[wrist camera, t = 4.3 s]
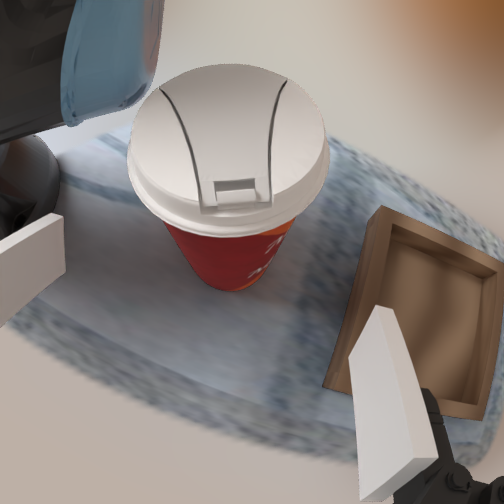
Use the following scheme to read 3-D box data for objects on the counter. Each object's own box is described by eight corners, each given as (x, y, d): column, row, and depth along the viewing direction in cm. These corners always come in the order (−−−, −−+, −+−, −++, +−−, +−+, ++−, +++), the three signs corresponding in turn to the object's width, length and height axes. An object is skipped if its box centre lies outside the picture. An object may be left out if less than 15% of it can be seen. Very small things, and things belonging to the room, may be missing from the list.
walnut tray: (321, 386, 22) (333, 389, 19) (368, 220, 27) (381, 205, 24) (461, 418, 21) (482, 420, 18) (486, 273, 26) (505, 264, 23)
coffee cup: (290, 300, 24) (365, 210, 10) (180, 311, 23) (107, 232, 9) (274, 201, 27) (309, 53, 13) (175, 210, 26) (131, 65, 12)
